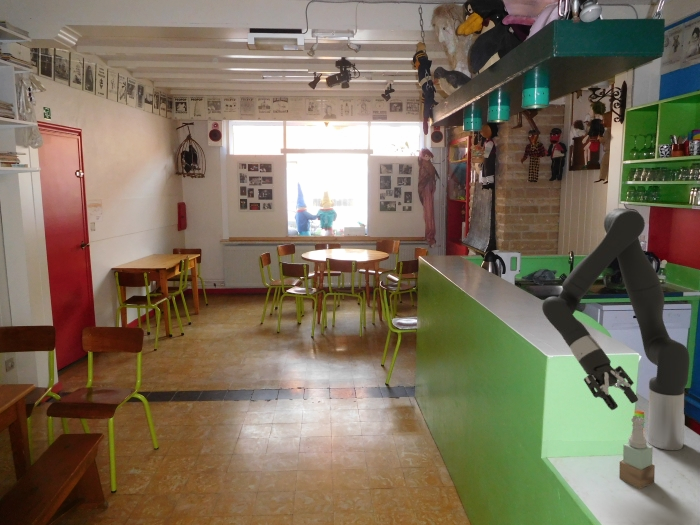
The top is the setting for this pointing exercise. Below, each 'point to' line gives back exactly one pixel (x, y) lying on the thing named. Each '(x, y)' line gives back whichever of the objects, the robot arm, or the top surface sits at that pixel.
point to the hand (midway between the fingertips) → (625, 405)
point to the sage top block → (637, 456)
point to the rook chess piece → (637, 433)
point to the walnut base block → (637, 474)
